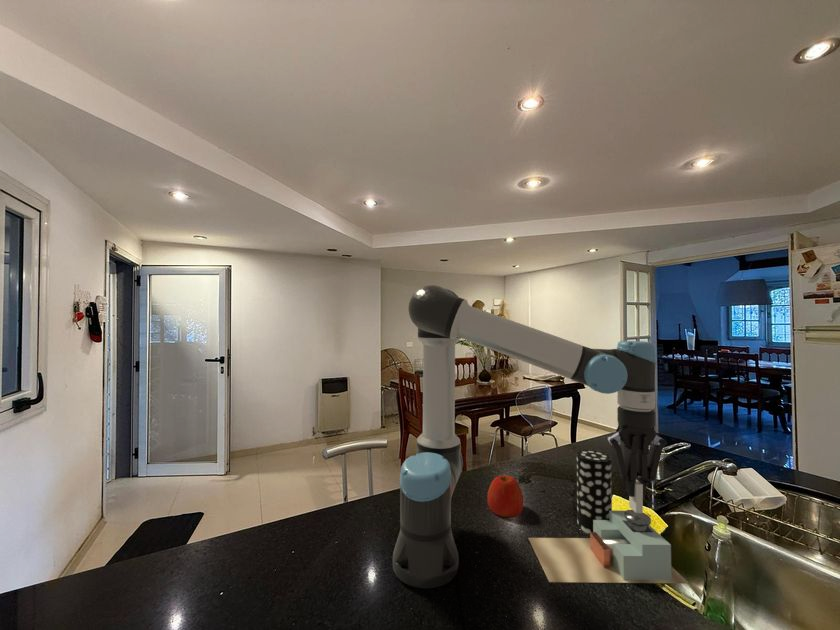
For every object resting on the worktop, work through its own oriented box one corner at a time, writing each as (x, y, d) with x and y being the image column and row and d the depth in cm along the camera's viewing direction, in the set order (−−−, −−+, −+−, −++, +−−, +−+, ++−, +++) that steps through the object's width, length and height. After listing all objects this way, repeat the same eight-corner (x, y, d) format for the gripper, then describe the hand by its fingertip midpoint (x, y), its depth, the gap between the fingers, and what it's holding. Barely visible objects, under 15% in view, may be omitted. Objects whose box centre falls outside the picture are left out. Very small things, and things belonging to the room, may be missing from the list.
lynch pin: (603, 567, 78) (603, 549, 78) (590, 548, 84) (590, 532, 85) (664, 568, 78) (664, 549, 78) (646, 549, 84) (646, 532, 84)
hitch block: (623, 579, 74) (623, 544, 75) (593, 540, 88) (593, 510, 88) (671, 580, 74) (670, 544, 74) (633, 540, 88) (633, 510, 88)
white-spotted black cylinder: (616, 542, 88) (616, 462, 89) (581, 538, 90) (580, 460, 90) (606, 523, 97) (605, 450, 97) (574, 520, 98) (573, 448, 99)
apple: (508, 500, 109) (508, 466, 109) (531, 517, 100) (531, 480, 100) (480, 507, 105) (480, 472, 105) (501, 526, 96) (501, 487, 96)
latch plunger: (633, 548, 78) (632, 522, 79) (620, 534, 84) (619, 509, 84) (656, 548, 78) (656, 522, 79) (642, 534, 84) (641, 509, 84)
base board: (549, 586, 74) (549, 581, 74) (528, 541, 89) (528, 537, 89) (688, 587, 73) (688, 583, 73) (643, 542, 88) (643, 538, 88)
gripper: (616, 411, 78) (616, 518, 78) (675, 412, 78) (675, 519, 77) (599, 403, 85) (599, 501, 85) (653, 404, 85) (653, 501, 85)
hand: (635, 509), depth 81 cm, fingers closed
